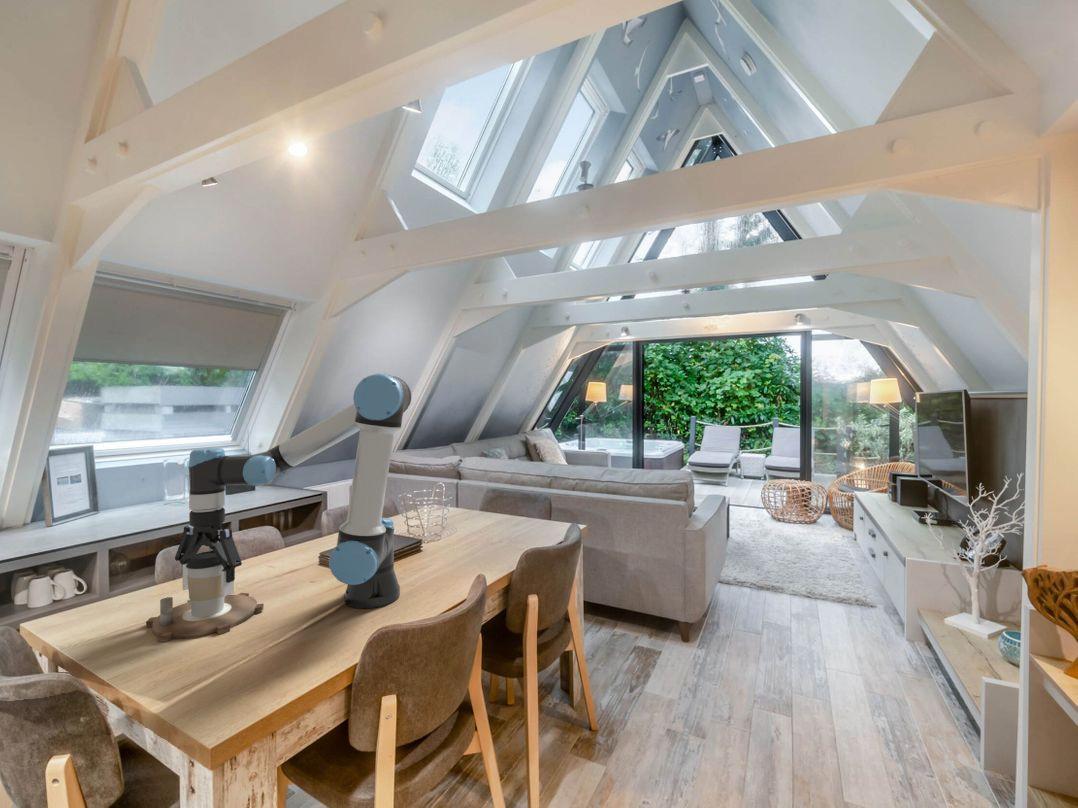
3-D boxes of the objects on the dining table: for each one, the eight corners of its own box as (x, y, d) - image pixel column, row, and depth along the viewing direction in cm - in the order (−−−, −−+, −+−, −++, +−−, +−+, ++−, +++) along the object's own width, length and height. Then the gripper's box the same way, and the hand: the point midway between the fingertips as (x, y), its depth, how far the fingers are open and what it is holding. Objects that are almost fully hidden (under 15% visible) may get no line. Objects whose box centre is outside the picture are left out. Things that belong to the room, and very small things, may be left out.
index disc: (239, 591, 140) (239, 566, 140) (274, 616, 124) (274, 587, 124) (139, 618, 123) (139, 589, 123) (165, 651, 107) (165, 618, 107)
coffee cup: (207, 620, 118) (206, 560, 118) (176, 617, 120) (176, 557, 120) (237, 605, 127) (237, 549, 127) (208, 602, 129) (208, 546, 129)
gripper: (257, 508, 123) (257, 591, 123) (187, 502, 131) (187, 580, 131) (230, 515, 116) (230, 603, 116) (157, 508, 124) (158, 590, 124)
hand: (207, 591), depth 123 cm, fingers open, 13 cm apart
